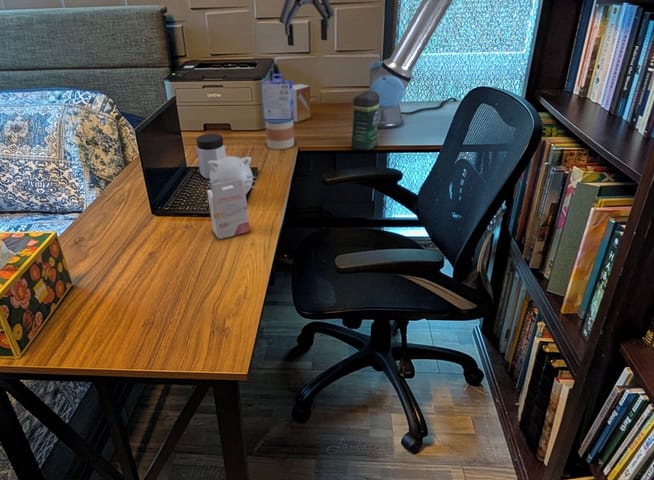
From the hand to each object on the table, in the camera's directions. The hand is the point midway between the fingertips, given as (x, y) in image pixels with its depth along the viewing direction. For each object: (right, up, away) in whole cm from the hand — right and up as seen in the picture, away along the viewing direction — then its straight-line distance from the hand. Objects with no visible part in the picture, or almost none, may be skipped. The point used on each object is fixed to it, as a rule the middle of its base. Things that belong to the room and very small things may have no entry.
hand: (307, 42), depth 173 cm
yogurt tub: (-10, -33, +10) cm, 36 cm away
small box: (-2, -16, +35) cm, 38 cm away
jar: (-31, -48, -11) cm, 58 cm away
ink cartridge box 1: (-21, -69, -44) cm, 85 cm away
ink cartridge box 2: (-10, -25, +4) cm, 27 cm away
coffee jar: (+20, -35, +4) cm, 41 cm away
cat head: (-23, -58, -27) cm, 68 cm away
